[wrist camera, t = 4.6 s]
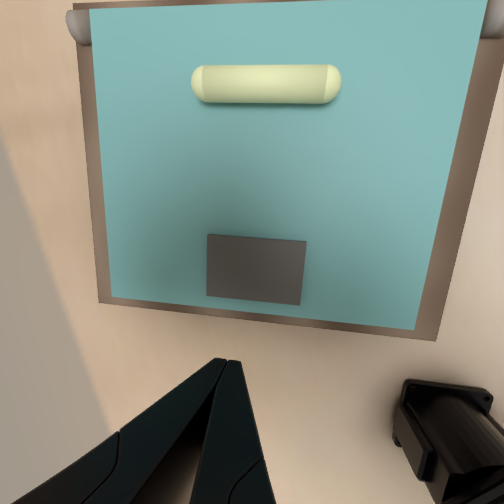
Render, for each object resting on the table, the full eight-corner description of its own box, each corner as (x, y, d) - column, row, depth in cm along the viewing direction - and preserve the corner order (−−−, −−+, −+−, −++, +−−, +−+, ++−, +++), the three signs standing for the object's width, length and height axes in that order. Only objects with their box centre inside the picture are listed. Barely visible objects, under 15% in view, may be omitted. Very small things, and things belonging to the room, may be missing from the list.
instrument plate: (465, 18, 13) (522, -39, 10) (402, 318, 16) (429, 345, 13) (108, 27, 15) (63, -16, 12) (125, 289, 19) (94, 306, 16)
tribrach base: (476, 26, 15) (545, -35, 11) (413, 320, 19) (446, 351, 16) (106, 35, 18) (56, -12, 14) (122, 289, 22) (88, 308, 18)
